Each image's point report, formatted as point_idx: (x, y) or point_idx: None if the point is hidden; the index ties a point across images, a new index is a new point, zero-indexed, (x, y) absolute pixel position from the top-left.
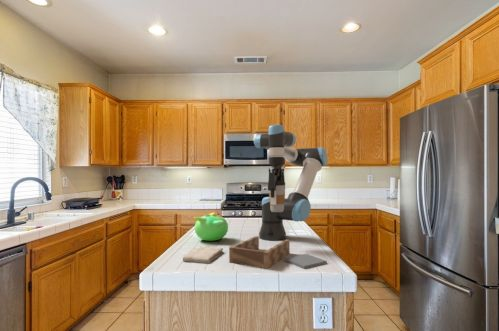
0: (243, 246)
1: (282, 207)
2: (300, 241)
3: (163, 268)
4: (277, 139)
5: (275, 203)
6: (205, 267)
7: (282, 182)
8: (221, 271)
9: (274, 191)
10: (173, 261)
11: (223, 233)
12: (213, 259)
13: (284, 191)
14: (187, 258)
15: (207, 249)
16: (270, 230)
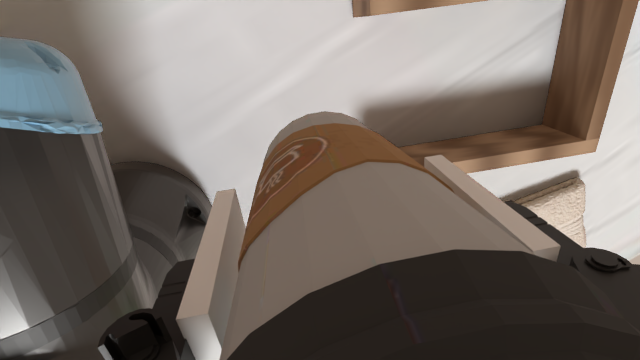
0: (507, 147)
1: (341, 118)
2: (102, 66)
3: (636, 232)
4: None
5: (447, 161)
6: (611, 158)
7: (577, 355)
8: (637, 95)
9: (544, 254)
10: None
11: None
12: (537, 192)
13: (346, 187)
14: (585, 234)
15: None
16: (183, 228)
